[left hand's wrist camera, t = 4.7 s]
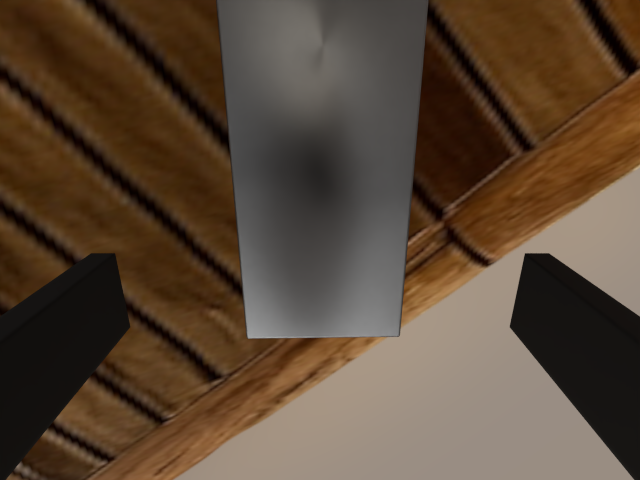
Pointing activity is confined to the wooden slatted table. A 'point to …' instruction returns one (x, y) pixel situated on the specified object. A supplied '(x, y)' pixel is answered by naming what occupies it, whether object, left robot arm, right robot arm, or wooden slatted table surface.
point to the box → (322, 159)
